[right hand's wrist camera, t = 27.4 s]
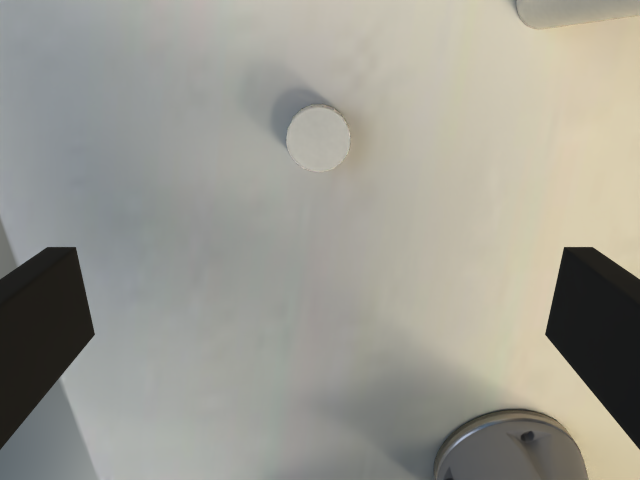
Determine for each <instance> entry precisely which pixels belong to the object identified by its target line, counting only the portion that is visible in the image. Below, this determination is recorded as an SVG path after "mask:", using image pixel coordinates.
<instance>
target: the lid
mask: <svg viewBox="0 0 640 480" xmlns="http://www.w3.org/2000/svg"><path fill="white" fill-rule="evenodd" d="M287 130H288V131H287V137H286V142H287V148H288V152H289V154H290V156H291V157H292V159H293V160H294V161H295V162H296V163H297V164H298V165H299V166H300V167H302V168H304V169H306V170H308V171H312V172H325V171H329V170H331V169H333V168H335V167H337V166H338V165H339V164H340V163H341V162H342V161H343V160H344V159H345V157H346V156H347V154H348V151H349V148H350V142H351V136H350V132H349V125H348V123H346V121H345V119H344V117H343V115H342V114H340V113H339V112H338V111H337V110H335V109H334V107H333V108H332V107H329V106H326V105H324V104H322V105H321V104H316V105H313V104H311V106H308V107H305V108H303V109H301V110H300V111H299V112H298V113H297V114H296V115H295V116H293V118H292V121H291V124H290V126H288V128H287Z"/></svg>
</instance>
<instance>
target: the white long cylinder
mask: <svg viewBox="0 0 640 480" xmlns="http://www.w3.org/2000/svg"><path fill="white" fill-rule="evenodd" d="M517 11H518V14H519V17H520V18H521V20H522V21H523V22H524V23H525V24H526V25H527V26H529V27H531V28H534V29H547V28H555V27H562V26H569V25H576V24H583V23H590V22H598V21H605V20H612V19H619V18H626V17H633V16H640V0H517Z"/></svg>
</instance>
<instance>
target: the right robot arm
mask: <svg viewBox="0 0 640 480" xmlns="http://www.w3.org/2000/svg"><path fill="white" fill-rule="evenodd" d="M94 335H95V333H94V329H93V324H92V319H91V315H90V310H89V306H88V301H87V296H86V292H85V287H84V283H83V278H82V273H81V269H80V264H79V259H78V255H77V250H76V247H47V248H45V249H44V250H43V251H41V252H40V253H38V254H37V255H35V256H34V257H32V258H31V259H29V260H28V261H26V262H25V263H24V264H22V265H21V266H19V267H18V268H16V269H15V270H13V271H12V272H10V273H9V274H8V275H6V276H5V277H3V278H2V279H0V449H1V448H2V447H3V446H4V444H5V443H6V442H7V441H8V440H9V438H10V437H11V436H12V435H13V434H14V432H15V431H16V430H17V429H18V427H19V426H20V425H21V424H22V423H23V421H24V420H25V419H26V418H27V416H28V415H29V414H30V413H31V412H32V410H33V409H34V408H35V407H36V406H37V404H38V403H39V402H40V401H41V399H42V398H43V397H44V396H45V395H46V393H47V392H48V391H49V390H50V388H51V387H52V386H53V385H54V384H55V382H56V381H57V380H58V379H59V378H60V376H61V375H62V374H63V373H64V371H65V370H66V369H67V368H68V367H69V365H70V364H71V363H72V362H73V360H74V359H75V358H76V357H77V356H78V354H79V353H80V352H81V351H82V350H83V348H84V347H85V346H86V345H87V343H88V342H89V341H90V340H91V339H92V337H93V336H94ZM545 335H546V336H547V337H548V339H549V340H550V341H551V342H552V343H553V345H554V346H555V347H556V348H557V350H558V351H559V352H560V353H561V354H562V356H563V357H564V358H565V359H566V360H567V362H568V363H569V364H570V365H571V367H572V368H573V369H574V370H575V371H576V373H577V374H578V375H579V376H580V378H581V379H582V380H583V381H584V382H585V384H586V385H587V386H588V387H589V388H590V390H591V391H592V392H593V393H594V395H595V396H596V397H597V398H598V399H599V401H600V402H601V403H602V404H603V406H604V407H605V408H606V409H607V410H608V412H609V413H610V414H611V415H612V416H613V418H614V419H615V420H616V421H617V423H618V424H619V425H620V426H621V427H622V429H623V430H624V431H625V432H626V434H627V435H628V436H629V437H630V438H631V440H632V441H633V442H634V443H635V444H636V446H637V447H638V448H639V449H640V279H638V278H637V277H635V276H634V275H632V274H631V273H630V272H628V271H627V270H625V269H624V268H622V267H621V266H619V265H618V264H616V263H615V262H614V261H612V260H611V259H609V258H608V257H606V256H605V255H603V254H602V253H600V252H599V251H597V250H596V249H595V248H593V247H564V250H563V255H562V259H561V264H560V269H559V273H558V278H557V283H556V287H555V292H554V296H553V301H552V306H551V310H550V315H549V319H548V324H547V329H546V333H545ZM434 478H435V480H589V479H588V475H587V471H586V467H585V463H584V460H583V457H582V455H581V452H580V450H579V448H578V446H577V444H576V443H575V441H574V440H573V438H572V437H571V435H570V434H569V433H568V431H567V430H566V429H565V428H564V427H563V426H562V425H561V424H559V423H558V422H557V421H555V420H553V419H552V418H550V417H548V416H545V415H542V414H539V413H535V412H530V411H522V410H509V411H500V412H495V413H490V414H487V415H484V416H481V417H478V418H476V419H474V420H472V421H470V422H468V423H466V424H464V425H463V426H461V427H460V428H458V429H457V430H456V431H455V432H453V433H452V434H451V435H450V436H449V437H448V438H447V439H446V441H445V442H444V443H443V445H442V446H441V448H440V449H439V451H438V453H437V456H436V459H435V463H434Z"/></svg>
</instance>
